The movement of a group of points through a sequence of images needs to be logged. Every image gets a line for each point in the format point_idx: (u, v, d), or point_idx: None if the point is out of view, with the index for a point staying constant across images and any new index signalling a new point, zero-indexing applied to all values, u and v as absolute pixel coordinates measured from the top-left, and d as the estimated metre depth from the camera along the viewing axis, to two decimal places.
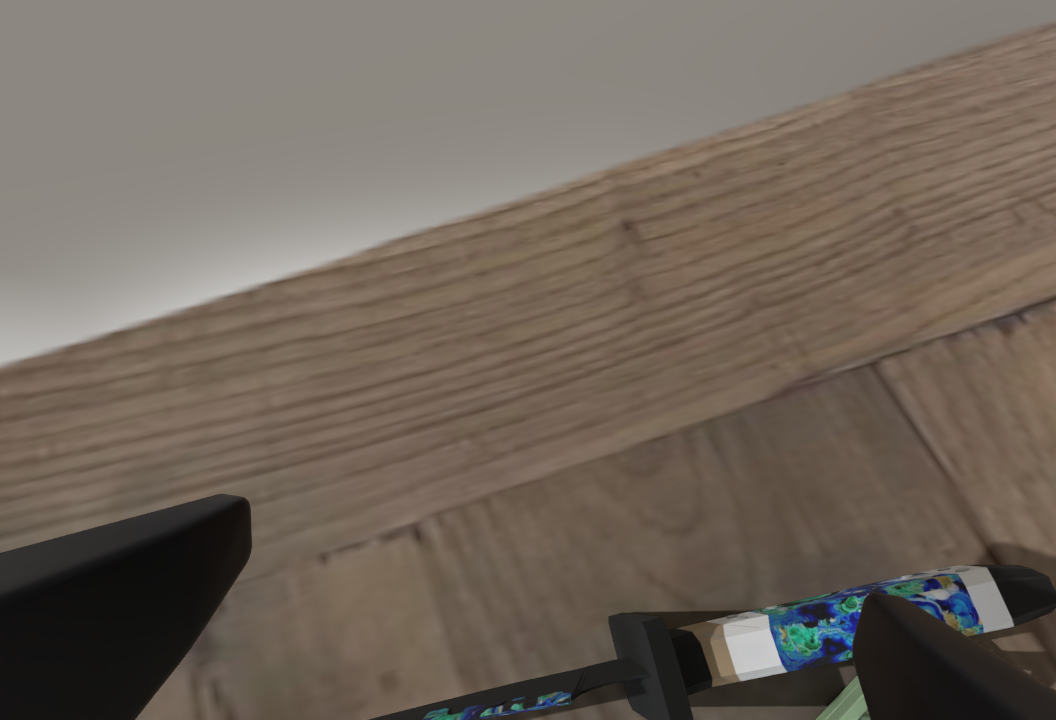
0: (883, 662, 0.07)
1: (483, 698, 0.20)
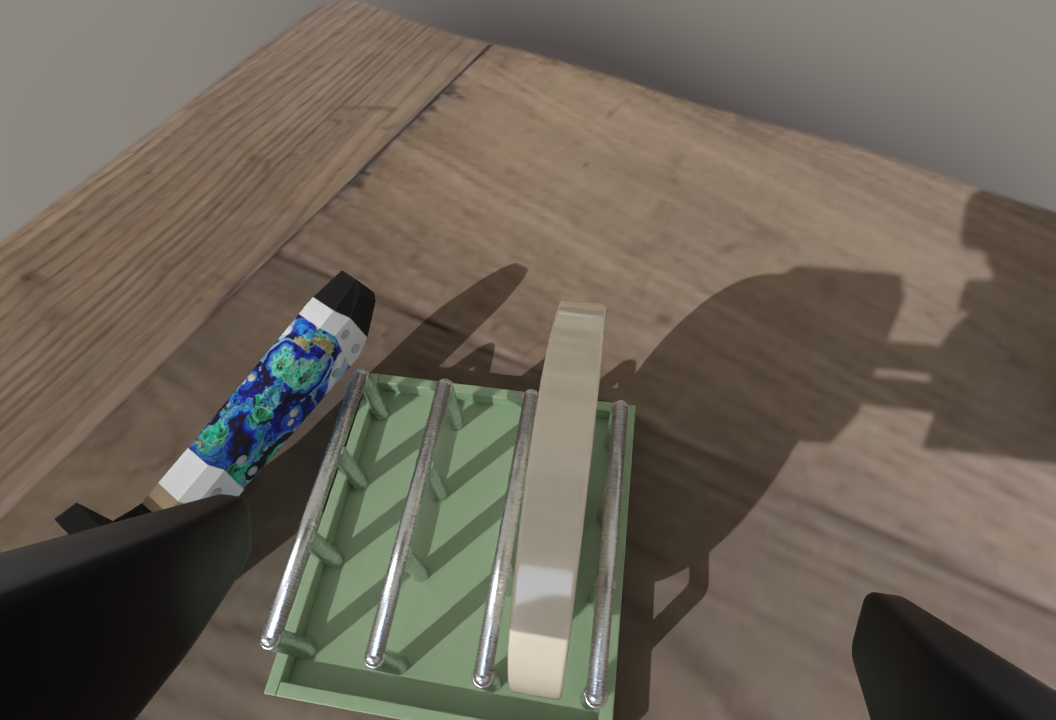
0: (883, 662, 0.07)
1: None
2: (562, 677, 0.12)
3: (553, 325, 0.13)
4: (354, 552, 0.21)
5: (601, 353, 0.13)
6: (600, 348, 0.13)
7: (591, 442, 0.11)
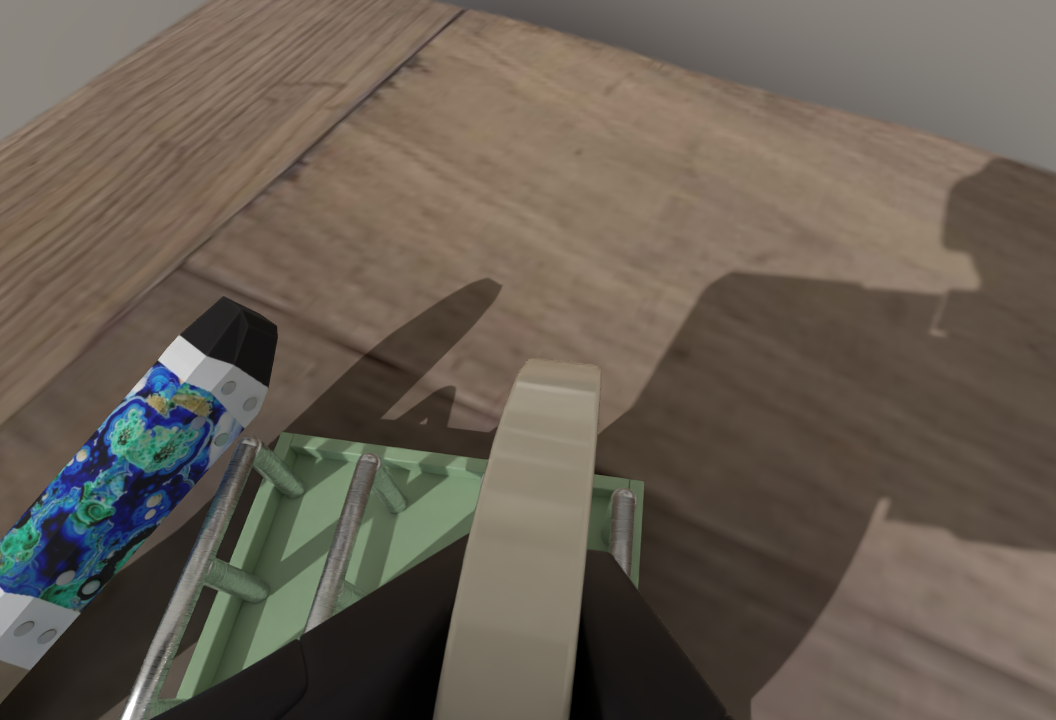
0: None
1: None
2: None
3: (499, 426, 0.07)
4: None
5: (589, 494, 0.06)
6: (587, 483, 0.06)
7: None
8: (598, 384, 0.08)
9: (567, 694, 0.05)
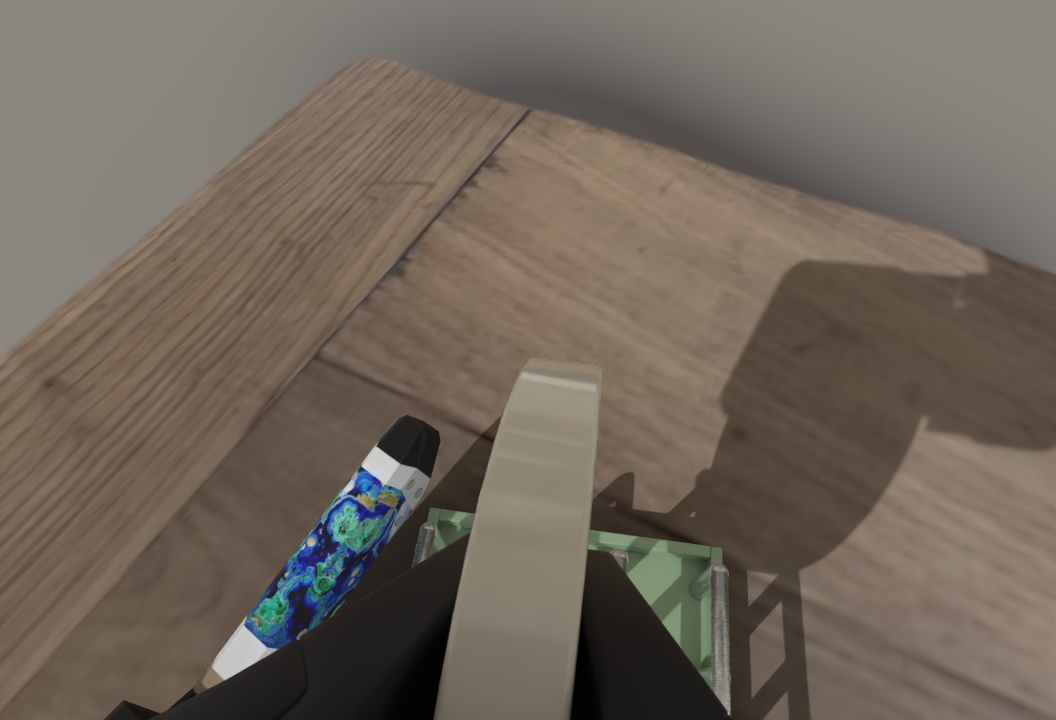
0: None
1: None
2: None
3: (500, 426, 0.07)
4: None
5: (590, 494, 0.06)
6: (588, 483, 0.06)
7: None
8: (599, 384, 0.08)
9: (568, 694, 0.05)
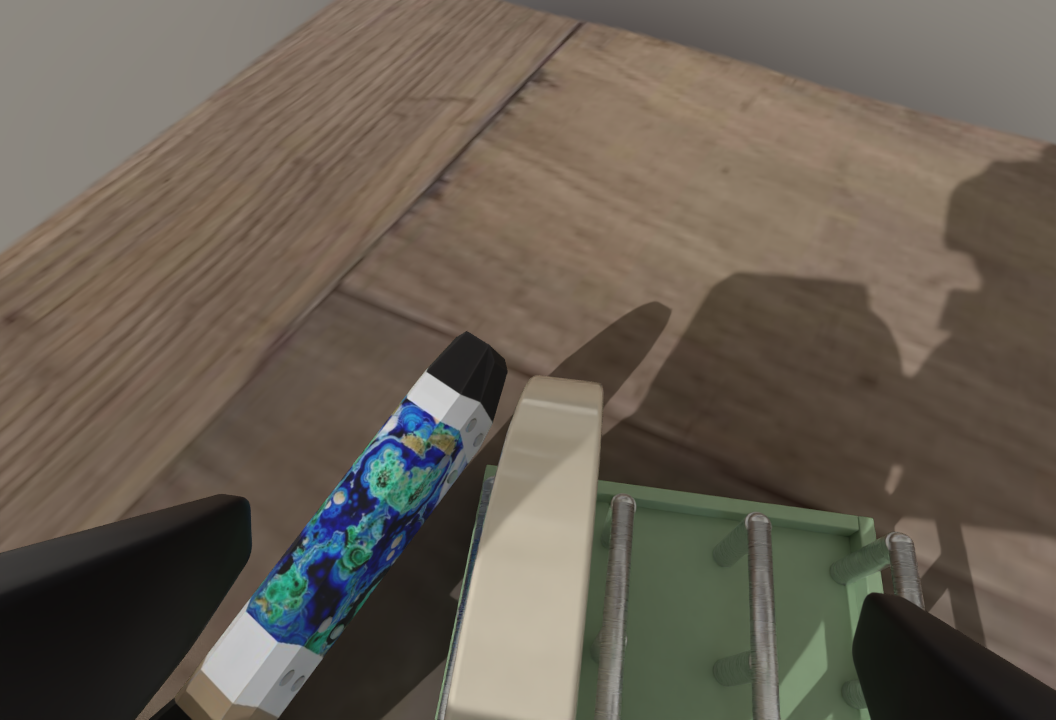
0: (883, 662, 0.07)
1: None
2: None
3: (504, 449, 0.07)
4: None
5: (592, 517, 0.07)
6: (590, 508, 0.07)
7: None
8: (600, 405, 0.08)
9: (572, 716, 0.05)
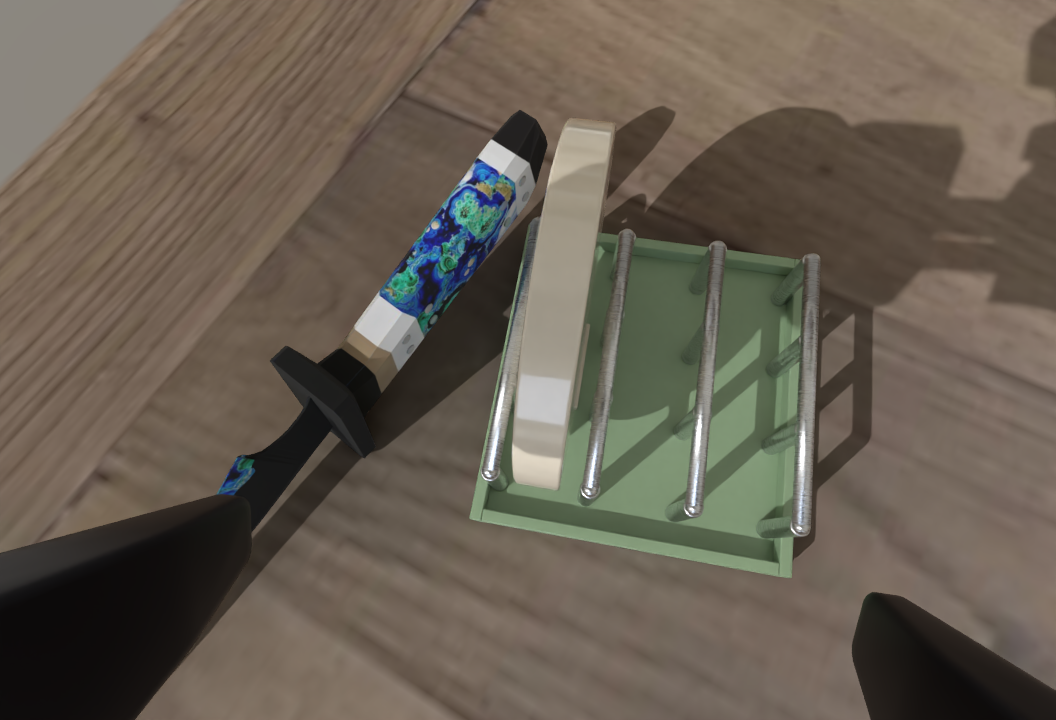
0: (883, 662, 0.07)
1: None
2: (560, 466, 0.14)
3: (560, 139, 0.13)
4: None
5: (607, 167, 0.13)
6: (606, 163, 0.13)
7: (593, 252, 0.12)
8: (614, 126, 0.14)
9: (594, 240, 0.12)
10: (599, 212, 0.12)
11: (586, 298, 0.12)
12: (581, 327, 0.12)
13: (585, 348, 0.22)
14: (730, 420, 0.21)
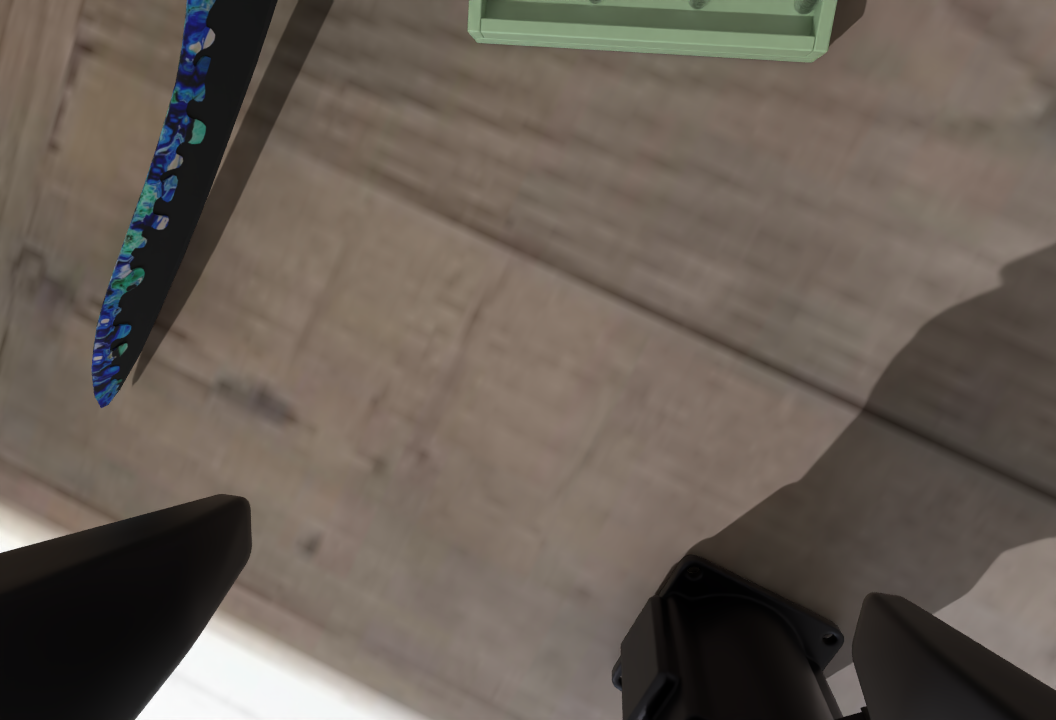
0: (883, 662, 0.07)
1: None
2: None
3: None
4: None
5: None
6: None
7: None
8: None
9: None
10: None
11: None
12: None
13: None
14: None
